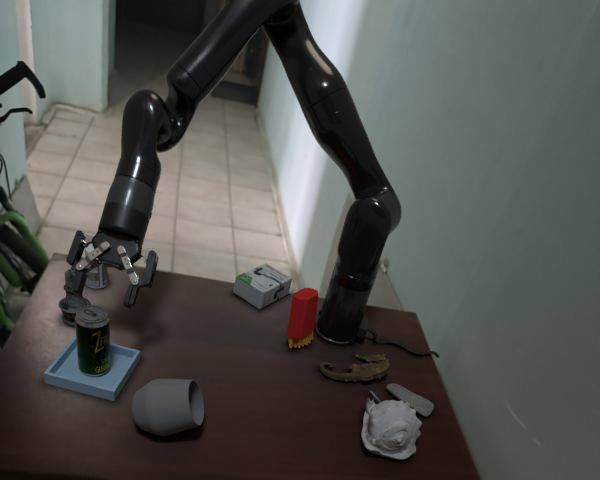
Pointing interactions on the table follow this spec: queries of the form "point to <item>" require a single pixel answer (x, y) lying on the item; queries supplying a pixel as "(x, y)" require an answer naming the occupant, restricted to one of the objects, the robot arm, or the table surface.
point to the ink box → (262, 285)
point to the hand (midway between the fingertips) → (102, 300)
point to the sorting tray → (105, 386)
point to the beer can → (93, 340)
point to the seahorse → (361, 369)
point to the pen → (375, 397)
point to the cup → (168, 406)
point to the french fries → (302, 317)
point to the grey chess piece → (71, 300)
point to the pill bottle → (96, 273)
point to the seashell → (390, 429)
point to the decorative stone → (411, 399)
